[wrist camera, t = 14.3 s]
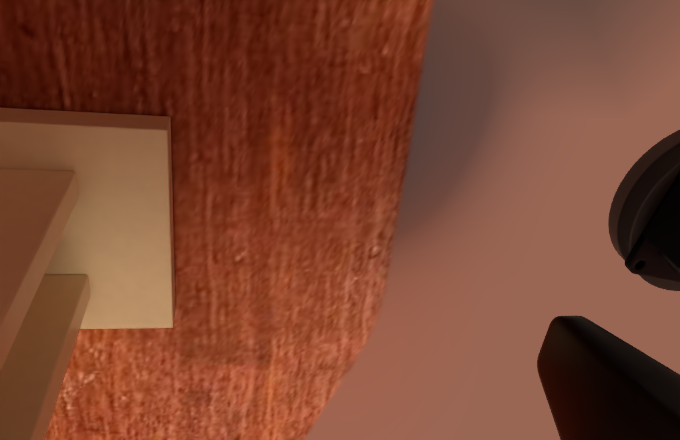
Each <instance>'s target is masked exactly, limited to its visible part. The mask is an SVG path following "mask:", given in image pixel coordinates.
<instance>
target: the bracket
mask: <svg viewBox="0 0 680 440" xmlns="http://www.w3.org/2000/svg"><path fill="white" fill-rule="evenodd" d="M175 308H176V307H175V268H174V229H173V191H172V152H171V118H170V117H169V116H151V115H132V114H113V113H94V112H74V111H55V110H36V109H17V108H0V440H44V439H45V436H46V433H47V430H48V426H49V423H50V420H51V417H52V414H53V411H54V408H55V405H56V401H57V398H58V395H59V392H60V389H61V386H62V383H63V380H64V377H65V373H66V370H67V367H68V364H69V361H70V358H71V355H72V352H73V349H74V345H75V342H76V339H77V336H78V333H79V330H80V329H118V328H173V325H174V316H175Z"/></svg>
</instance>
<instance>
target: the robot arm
mask: <svg viewBox="0 0 680 440" xmlns="http://www.w3.org/2000/svg"><path fill="white" fill-rule="evenodd" d="M638 261H639V262H638ZM637 262H638V263H637ZM636 263H637V264H636ZM625 266H626V267H627V268H628V269H629V270H630V271H631V272H632V273H634V274H638V275H644V276H649V277H655V278H660V279H666V280H672V281H677V282H680V172H679V173H678V175H677V176H676V178H675V180H674V181H673V183H672V185H671V186H670V188H669V189H668V191H667V193H666V194H665V196H664V198H663V199H662V201H661V202H660V204H659V206H658V207H657V209H656V211H655V212H654V214H653V215H652V217H651V219H650V220H649V222H648V224H647V225H646V227H645V229H644V230H643V232H642V233H641V235H640V237H639V238H638V240H637V242H636V243H635V245H634V246H633V248H632V250H631V251H630V253H629V255H628V256H627V258H626V260H625ZM537 368H538V373H539V377H540V379H541V383H542V386H543V389H544V392H545V395H546V398H547V400H548V403H549V406H550V409H551V412H552V415H553V418H554V421H555V424H556V427H557V430H558V433H559V436H560V439H561V440H680V375H679V374H678V373H676V372H674V371H673V370H671V369H669V368H668V367H666V366H664V365H663V364H661V363H660V362H658V361H656V360H655V359H653V358H651V357H649V356H648V355H646V354H645V353H643V352H641V351H640V350H638V349H636V348H634V347H633V346H631V345H630V344H628V343H626V342H624V341H623V340H621V339H619V338H618V337H616V336H614V335H613V334H611V333H610V332H608V331H606V330H605V329H603V328H601V327H600V326H598V325H596V324H595V323H593V322H591V321H590V320H588V319H586V318H585V317H582V316H558V317H556V318H554V319H553V320H552V321H551V323H550V325H549V328H548V331H547V334H546V336H545V339H544V342H543V344H542V347H541V350H540V353H539V355H538V360H537Z"/></svg>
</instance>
